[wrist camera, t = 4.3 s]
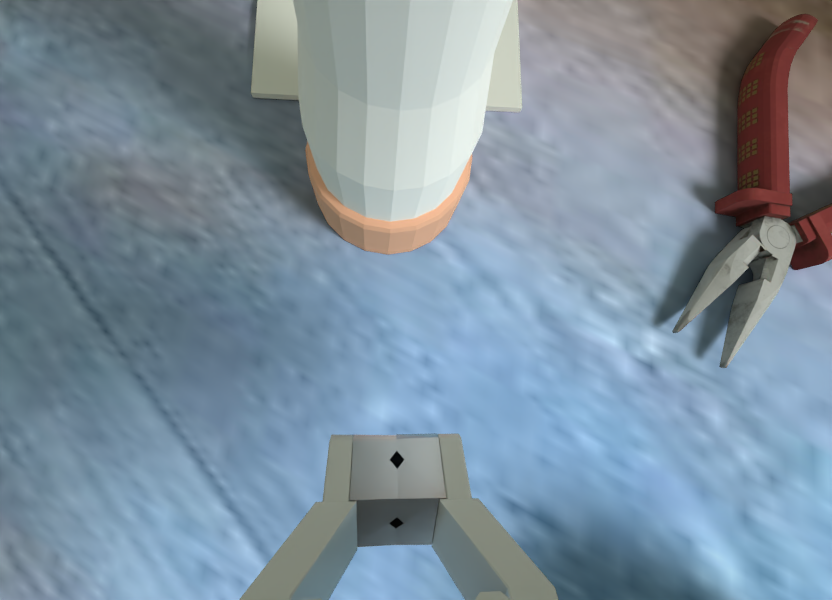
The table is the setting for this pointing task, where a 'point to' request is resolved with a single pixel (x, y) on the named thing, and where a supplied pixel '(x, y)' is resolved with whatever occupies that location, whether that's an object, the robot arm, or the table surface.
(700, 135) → the table surface
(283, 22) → the mat
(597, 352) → the table surface
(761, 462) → the table surface
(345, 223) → the pepper shaker
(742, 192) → the pliers
